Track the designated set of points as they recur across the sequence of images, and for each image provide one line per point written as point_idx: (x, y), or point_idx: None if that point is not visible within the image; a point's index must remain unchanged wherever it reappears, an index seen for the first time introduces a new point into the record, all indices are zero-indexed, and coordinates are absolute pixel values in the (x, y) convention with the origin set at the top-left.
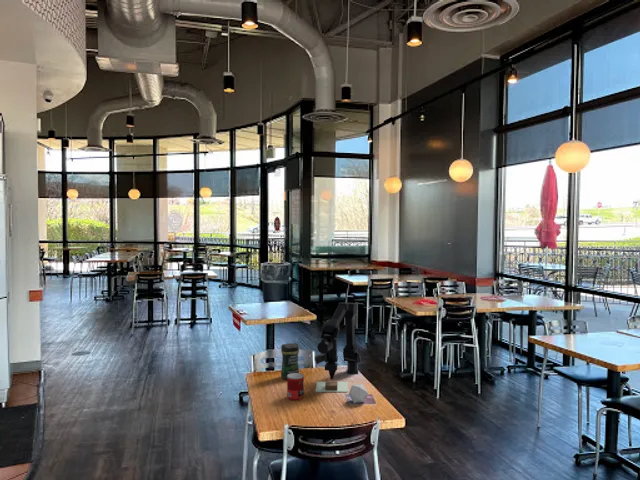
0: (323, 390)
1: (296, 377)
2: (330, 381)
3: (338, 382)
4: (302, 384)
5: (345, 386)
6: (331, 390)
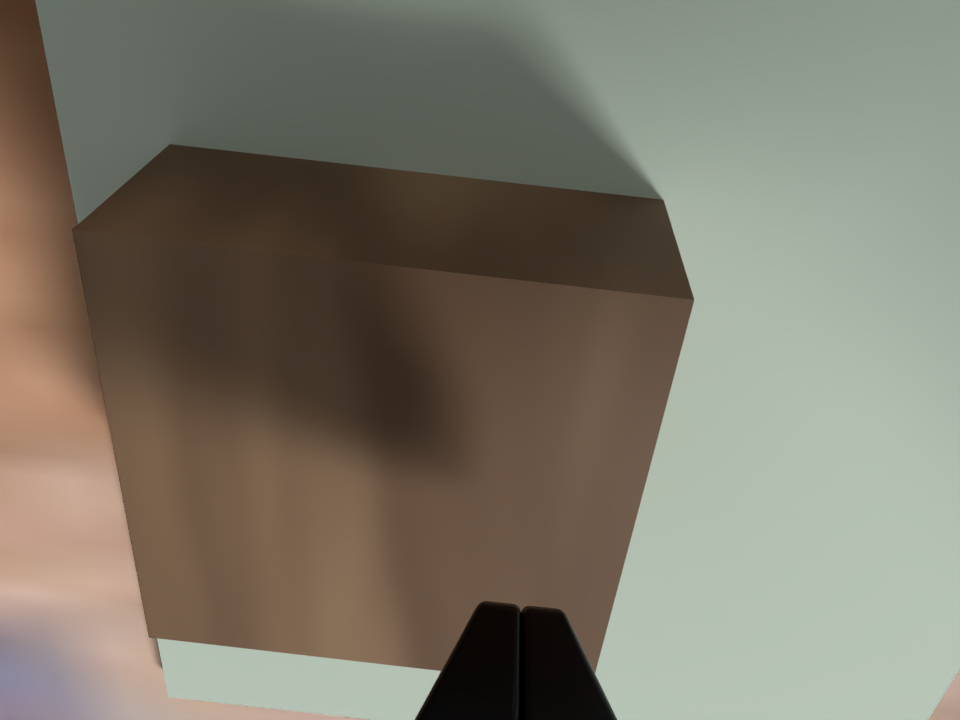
0: (138, 68)
1: None
2: (628, 488)
3: (936, 609)
4: None
5: None
6: None
